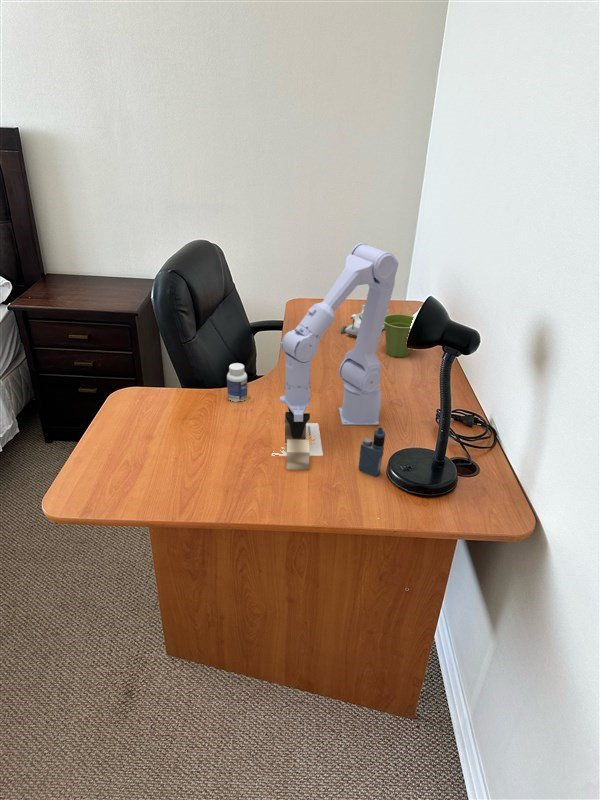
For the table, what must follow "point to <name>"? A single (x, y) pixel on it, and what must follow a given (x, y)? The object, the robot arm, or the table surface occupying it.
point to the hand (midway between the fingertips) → (296, 431)
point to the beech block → (298, 454)
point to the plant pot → (397, 334)
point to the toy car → (355, 323)
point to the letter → (314, 448)
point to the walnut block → (288, 432)
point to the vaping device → (372, 453)
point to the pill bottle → (237, 382)
